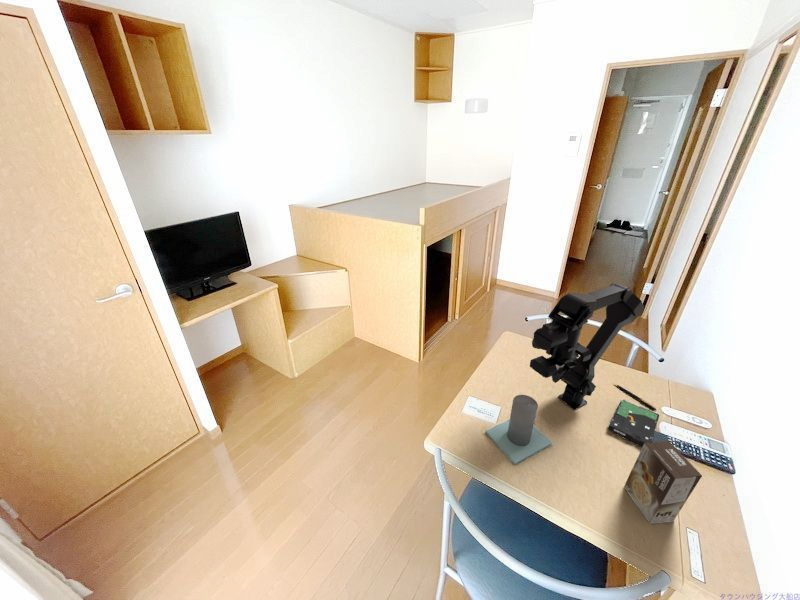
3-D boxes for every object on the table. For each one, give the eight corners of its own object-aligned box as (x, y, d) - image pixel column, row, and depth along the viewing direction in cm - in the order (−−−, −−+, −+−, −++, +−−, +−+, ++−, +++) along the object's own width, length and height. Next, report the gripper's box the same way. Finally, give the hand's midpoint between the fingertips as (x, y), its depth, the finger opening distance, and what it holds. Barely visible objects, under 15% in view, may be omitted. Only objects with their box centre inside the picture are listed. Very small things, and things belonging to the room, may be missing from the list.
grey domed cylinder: (525, 427, 98) (532, 394, 92) (533, 445, 92) (541, 411, 86) (504, 428, 98) (509, 395, 92) (511, 446, 92) (517, 412, 86)
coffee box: (675, 521, 75) (705, 477, 67) (649, 524, 74) (676, 480, 67) (645, 483, 83) (669, 439, 75) (621, 485, 82) (643, 442, 75)
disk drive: (647, 452, 92) (656, 420, 101) (651, 445, 90) (660, 413, 100) (606, 431, 98) (618, 403, 107) (609, 425, 97) (621, 397, 106)
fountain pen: (611, 384, 115) (612, 381, 114) (613, 383, 116) (614, 380, 115) (654, 412, 104) (656, 408, 103) (657, 411, 104) (658, 407, 104)
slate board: (520, 415, 103) (520, 413, 102) (551, 444, 93) (552, 442, 93) (485, 432, 97) (485, 430, 97) (514, 465, 88) (515, 463, 87)
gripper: (565, 316, 100) (554, 357, 108) (519, 332, 93) (511, 375, 100) (598, 334, 92) (584, 378, 99) (552, 353, 84) (540, 398, 91)
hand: (554, 381), depth 97 cm, fingers closed
